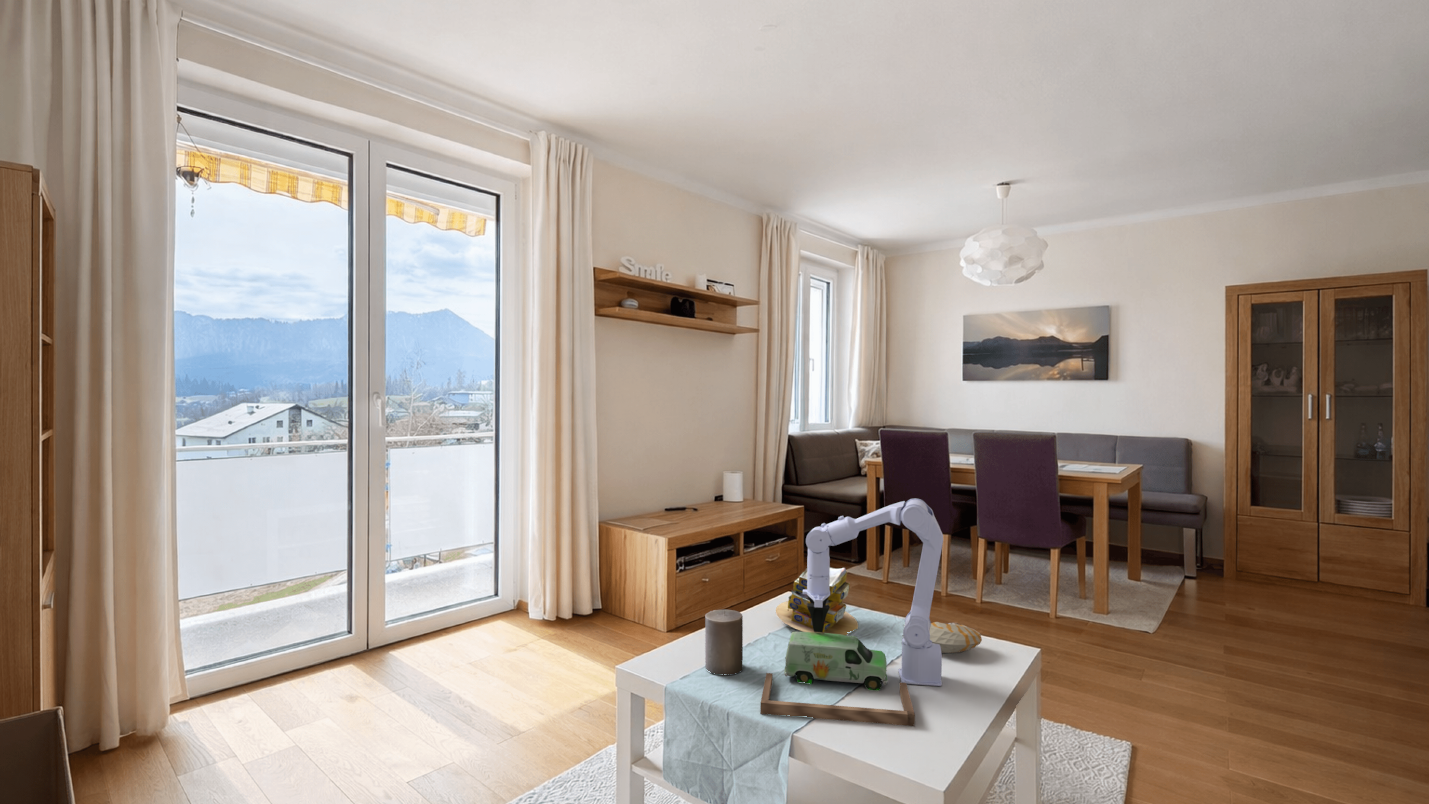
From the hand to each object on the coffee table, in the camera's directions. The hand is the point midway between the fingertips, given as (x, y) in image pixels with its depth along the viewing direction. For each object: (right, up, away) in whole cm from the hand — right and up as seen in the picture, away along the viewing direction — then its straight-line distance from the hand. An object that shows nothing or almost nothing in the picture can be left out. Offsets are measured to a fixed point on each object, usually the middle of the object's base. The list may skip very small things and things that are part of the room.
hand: (818, 626), depth 181 cm
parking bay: (+1, -11, -21) cm, 24 cm away
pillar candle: (-24, -10, -2) cm, 27 cm away
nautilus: (+36, -10, +13) cm, 39 cm away
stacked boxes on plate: (+4, -10, +32) cm, 34 cm away
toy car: (+3, -11, -7) cm, 14 cm away
